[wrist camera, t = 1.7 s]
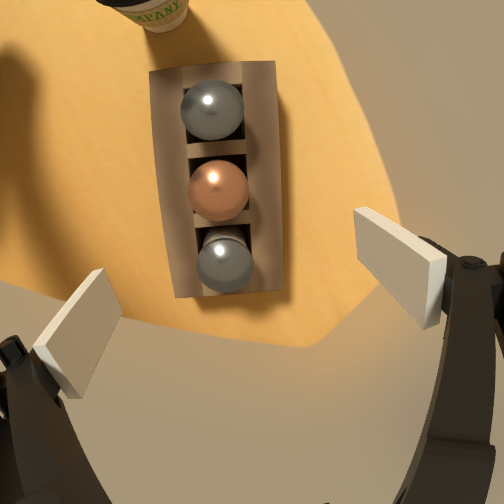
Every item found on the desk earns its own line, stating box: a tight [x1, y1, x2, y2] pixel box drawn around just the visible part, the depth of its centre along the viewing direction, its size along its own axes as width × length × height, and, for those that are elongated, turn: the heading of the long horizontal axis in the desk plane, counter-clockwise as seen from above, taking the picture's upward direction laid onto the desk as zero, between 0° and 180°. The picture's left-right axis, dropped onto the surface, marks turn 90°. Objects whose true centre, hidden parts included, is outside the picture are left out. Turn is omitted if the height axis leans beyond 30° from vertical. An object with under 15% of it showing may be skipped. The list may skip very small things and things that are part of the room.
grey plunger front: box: [180, 79, 244, 140], centre depth 27 cm, size 6×6×7 cm
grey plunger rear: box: [196, 225, 253, 293], centre depth 33 cm, size 6×6×7 cm
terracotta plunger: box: [187, 159, 249, 221], centre depth 30 cm, size 6×6×7 cm
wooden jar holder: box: [149, 61, 283, 298], centre depth 33 cm, size 13×26×6 cm, turn 3°
